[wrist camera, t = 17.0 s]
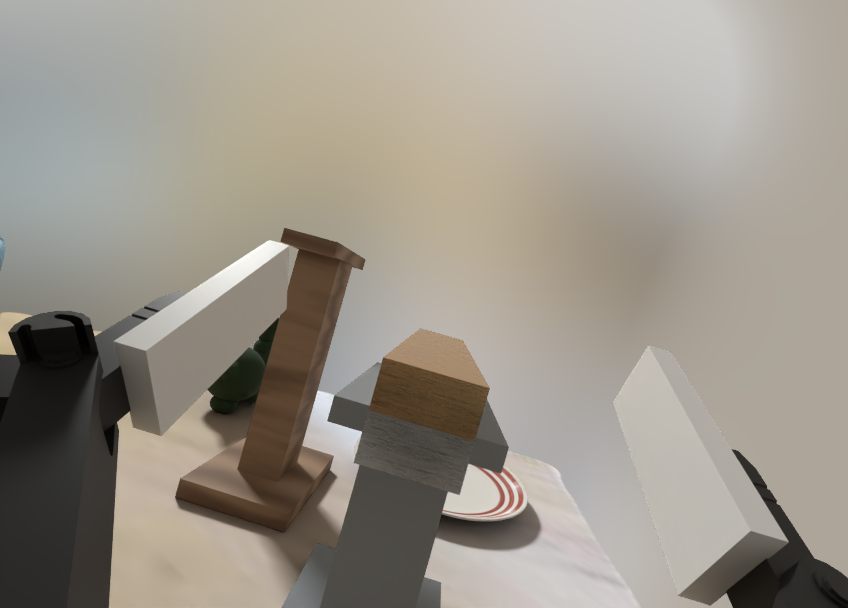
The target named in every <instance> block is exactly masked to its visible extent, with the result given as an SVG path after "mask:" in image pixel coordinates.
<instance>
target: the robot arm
mask: <svg viewBox="0 0 848 608" xmlns="http://www.w3.org/2000/svg"><path fill="white" fill-rule="evenodd" d="M4 245H5V243H4V241H3V239H2V238H1V237H0V270H1V266H2V262H3V258H4V253H5V246H4ZM288 262H289V245H285V244H281V243H278V242H274V241H271V240H269V241H267V242H266V243H264V244H263V245H261V246H259V247H258V248H256V249H255V250H253V251H252V252H250V253H249V254H247V255H246V256H244V257H242V258H241V259H239V260H238V261H236V262H235V263H233V264H232V265H230V266H229V267H227V268H225V269H224V270H222V271H221V272H219V273H218V274H216V275H215V276H213V277H212V278H210V279H209V280H207V281H206V282H204V283H202V284H201V285H199V286H198V287H196V288H195V289H193V290H192V291H190V292H189V293H183V292H180V291H178V292H174V293H171V294H168V295H165V296H162V297H159V298H157V299H156V300H154V301H152V302H151V303H149V304H148V305H146V306H145V307H144V309H143V308H141V309H139V310H138V311H136V312H134V313H133V314H132V316H128V317H126V318H125V319H123V320H121V321H119V322H118V323H116V324H115V325H113V326H111V327H110V328H108V329H106V330H105V331H103V332H101V333H100V334H98V335H96V336H95V337H94V333H93V329H92V325H91V322H90V318H88V317H87V316H85V315H84V314H81V313H77V312H72V311H54V312H48V313H42V314H38V315H35V316H32V317H29V318H26V319H24V320H22V321H21V322H19V323H17V324H15V325H14V326H13V327H12V328H11V330H10V331H9V332H8V333H9V336H10V338H11V341H12V344H13V346H14V349H15V351H16V354H17V355H1V354H0V608H109V592H110V575H111V558H112V541H113V524H114V507H115V490H116V472H117V455H118V438H119V429H118V425H117V422H118V421H119V420H120V419H121V418H122V417H123V416H124V415H126V414H127V413H128V412H129V411H130V415H131V420H132V424H133V428H137V429H140V430H143V431H146V432H150V433H153V434H156V435H159V436H162V435H163V434H164V433H165V432H166V431H167V430H168V429H169V428H170V427H171V426H172V425H173V424H174V423H175V422H176V421H177V420H178V419H179V418H180V417H181V416H182V415H183V414H184V413H185V412H186V411H187V410H188V409H189V408H190V407H191V406H192V404H193V403H194V402H195V401H196V400H197V399H198V398H199V397H200V396H201V395H202V394H203V393H204V392H205V391H206V390H207V389H208V388H209V387H210V386H211V385H212V384H213V383H214V382H215V381H216V380H217V379H218V378H219V377H220V376H221V375H222V374H223V373H224V372H225V371H226V370H227V369H228V368H229V367H230V366H231V365H232V364H233V363H234V362H235V361H236V360H237V359H238V358H239V357H240V356H241V355H242V354H243V353H244V352H245V351H246V350H247V349H248V348H249V346H251V344H253V343H254V342H255V341H256V339H257V338H259V337H260V335H261V334H262V333H263V332H264V331H265V330H266V329H267V328H268V327H269V326H270V325H271V324H272V323H273V322H274V321H275V320H276V319H277V318H278V317H279V316H280V315H281V314H282V313H283V312H284V311H285V310H286V309H287V284H288ZM613 404H614V407H615V410H616V413H617V416H618V419H619V422H620V425H621V428H622V431H623V434H624V437H625V440H626V443H627V446H628V448H629V452H630V454H631V458H632V461H633V463H634V466H635V469H636V472H637V475H638V478H639V481H640V484H641V487H642V490H643V493H644V496H645V499H646V502H647V505H648V508H649V511H650V513H651V517H652V519H653V523H654V526H655V529H656V531H657V534H658V537H659V540H660V543H661V546H662V549H663V552H664V555H665V558H666V561H667V564H668V567H669V570H670V573H671V576H672V579H673V582H674V585H675V588H676V591H677V594H678V596H681V597H685V598H688V599H691V600H694V601H697V602H701V603H704V604H707V605H712V604H713V603H714V602H716V601H717V600H718V599H719V598H721V597H722V596H723V595H724V594H725V593H727V595H728V597H729V599H730V602H731V604H732V606H733V608H848V578H847V577H846V576H844V575H843V574H842V573H841V572H839V571H838V570H836V569H835V568H833V567H831V566H830V565H828V564H827V563H824V562H822V561H819V560H817V559H814V557H813V556H812V554H811V553H810V551H809V550H808V548H807V546H806V545H805V543H804V542H803V540H802V539H801V537H800V536H799V534H798V533H797V531H796V530H795V528H794V527H793V525H792V523H791V522H790V521H789V519H788V517H787V516H786V514H785V513H784V511H783V510H782V508H781V507H780V505H778V504H776V502H777V500H776V499H775V498H774V496H773V494H772V493H771V491H770V490H768V489H767V485H766V484H765V482H764V481H763V479H762V478H761V476H760V474H759V473H758V471H757V470H756V469H755V467H754V466H753V465H752V464H751V463H750V462H748V460H747V459H746V458H745V457H744V456H742V455H741V453H740V452H739V451H736V450H732V449H731V448H730V446H729V445H728V443H727V441H726V440H725V438H724V437H723V435H722V433H721V432H720V430H719V429H718V427H717V425H716V424H715V422H714V421H713V419H712V417H711V416H710V414H709V412H708V411H707V409H706V408H705V406H704V404H703V403H702V401H701V400H700V398H699V397H698V395H697V393H696V391H695V390H694V388H693V387H692V385H691V383H690V382H689V380H688V379H687V377H686V376H685V374H684V373H683V371H682V369H681V367H680V366H679V364H678V363H677V361H676V359H675V358H674V356H673V354H672V353H671V352H670V351H667V350H664V349H660V348H656V347H653V346H648V347H647V349H646V350H645V352H644V354H643V355H642V357H641V358H640V360H639V362H638V363H637V365H636V367H635V368H634V370H633V371H632V373H631V374H630V376H629V378H628V379H627V381H626V382H625V384H624V386H623V387H622V389H621V390H620V392H619V394H618V395H617V397H616V399H615V400H614V402H613Z"/></svg>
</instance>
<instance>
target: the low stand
mask: <svg viewBox="0 0 848 608" xmlns="http://www.w3.org/2000/svg"><path fill="white" fill-rule="evenodd" d="M381 364H382V363H376V364H375V365H374V366H372V367H371V368H370V369H368V370H367V371H366V372H365V373H363V374H362V375H360V376H359V377H358V378H357V379H355V380H354V381H353V382H351V383H350V384H349V385H347V386H346V387H345V388H343V389H342V390H341V391H340V392H338V393H337V394H336V395H335V396H334V399H333V403H332V406H331V410H330V413H329V417H328V421H329V422H332V423H335V424H339V425H342V426H345V427H349V428H352V429H355V430H359V431H362V432H363V428H364V424H365V421H366V417H367V414H368V410H369V407H370V403H371V399H372V396H373V392H374V389H375V385H376V382H377V378H378V375H379V371H380V367H381ZM507 451H508V445H507V442H506V440H505V438H504V436H503V434H502V431H501V429H500V427H499V425H498V423H497V420H496V418H495V416H494V414H493V412H492V410H491V408H490V405H489V403H488V401H487V400H486V403H485V407H484V410H483V414H482V417H481V421H480V424H479V428H478V432H477V435H476V439H475V442H474V446H473V449H472V453H471V456H470V460H469V464H471V465H474V466H477V467H481V468H484V469H487V470H491V471H494V472H497V473H500V474H501V473H502V469H503V466H504V462H505V458H506V455H507ZM447 493H448V492H447V491H444V490H441V489H438V488H434V487H431V486H428V485H425V484H421V483H418V482H415V481H411V480H408V479H405V478H402V477H398V476H395V475H392V474H389V473H385V472H382V471H379V470H376V469H372V468H369V467H366V466H363V465H360V466H359V469H358V473H357V477H356V480H355V484H354V487H353V491H352V494H351V498H350V501H349V505H348V509H347V512H346V516H345V519H344V523H343V526H342V530H341V534H340V537H339V541H338V544H337V548H336V549H335V548H332V547H329V546H326V545H323V544H320V543H317V545H316V546H315V548H314V550H313V552H312V554H311V555H310V557H309V559H308V561H307V563H306V564H305V566H304V568H303V570H302V572H301V574H300V575H299V577H298V579H297V581H296V583H295V584H294V586H293V588H292V590H291V592H290V593H289V595H288V597H287V599H286V601H285V602H284V604H283V606H282V608H440V600H441V582H438V581H434V580H431V579H428V578H425V577H424V575H425V572H426V568H427V565H428V561H429V557H430V554H431V550H432V547H433V543H434V540H435V536H436V533H437V529H438V525H439V522H440V518H441V515H442V511H443V508H444V504H445V501H446V497H447Z"/></svg>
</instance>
